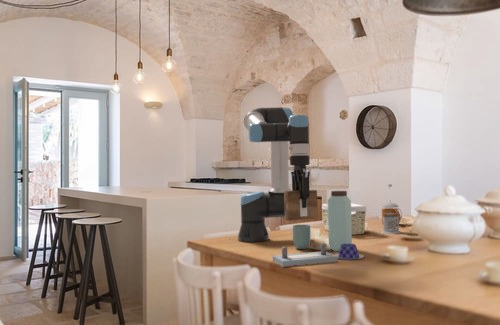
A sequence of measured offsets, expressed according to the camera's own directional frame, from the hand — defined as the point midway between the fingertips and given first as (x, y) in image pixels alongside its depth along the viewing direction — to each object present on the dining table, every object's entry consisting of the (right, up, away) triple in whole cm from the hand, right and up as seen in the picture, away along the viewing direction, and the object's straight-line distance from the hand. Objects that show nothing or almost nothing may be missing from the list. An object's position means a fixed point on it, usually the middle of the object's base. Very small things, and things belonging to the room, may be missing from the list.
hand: (301, 215), depth 183 cm
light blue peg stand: (+1, -17, -1) cm, 18 cm away
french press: (+54, -16, +64) cm, 85 cm away
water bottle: (+19, -17, +20) cm, 32 cm away
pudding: (+19, -17, +5) cm, 26 cm away
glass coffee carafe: (+62, -16, +91) cm, 111 cm away
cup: (+3, -17, +25) cm, 31 cm away
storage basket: (+30, -17, +68) cm, 76 cm away
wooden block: (0, -1, 0) cm, 1 cm away
